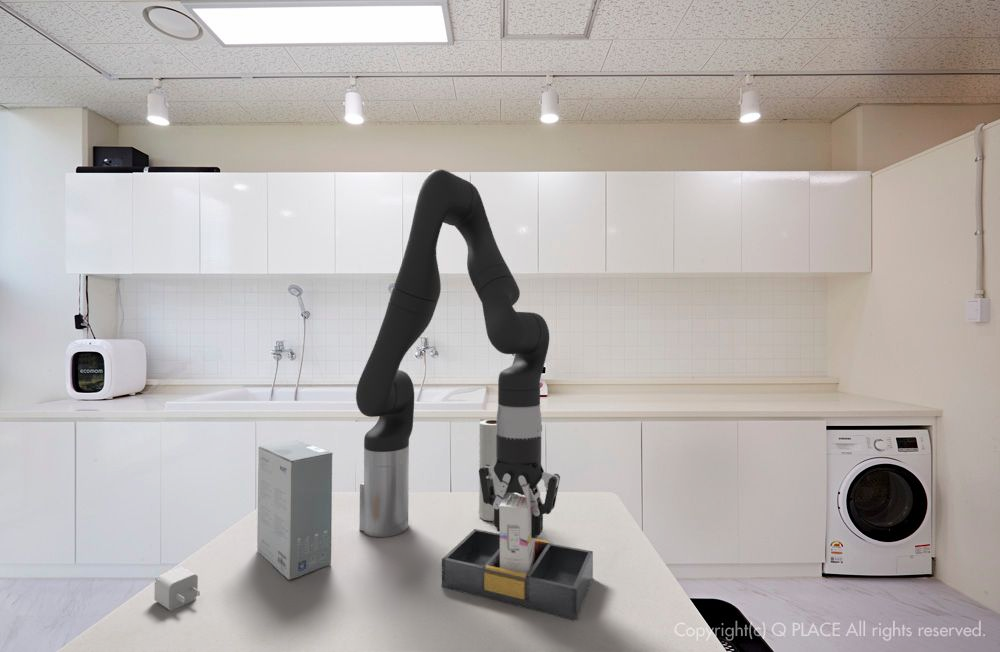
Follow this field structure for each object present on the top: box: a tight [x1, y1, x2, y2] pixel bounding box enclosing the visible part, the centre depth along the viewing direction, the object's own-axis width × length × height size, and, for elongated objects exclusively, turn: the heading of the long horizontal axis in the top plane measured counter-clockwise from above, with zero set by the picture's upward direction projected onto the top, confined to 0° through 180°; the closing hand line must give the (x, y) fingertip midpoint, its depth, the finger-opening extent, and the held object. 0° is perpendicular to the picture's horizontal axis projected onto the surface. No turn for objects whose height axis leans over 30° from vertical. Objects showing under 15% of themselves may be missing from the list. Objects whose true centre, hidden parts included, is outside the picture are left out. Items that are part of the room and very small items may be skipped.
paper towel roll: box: [478, 418, 501, 522], centre depth 102 cm, size 7×6×21 cm
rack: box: [441, 528, 594, 621], centre depth 75 cm, size 22×13×5 cm, turn 67°
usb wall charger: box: [153, 566, 201, 611], centre depth 69 cm, size 4×7×4 cm, turn 59°
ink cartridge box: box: [499, 484, 535, 574], centre depth 75 cm, size 9×5×15 cm, turn 168°
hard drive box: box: [256, 439, 333, 581], centre depth 83 cm, size 16×8×20 cm, turn 47°
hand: (518, 532), depth 75 cm, fingers closed on ink cartridge box, 5 cm apart
